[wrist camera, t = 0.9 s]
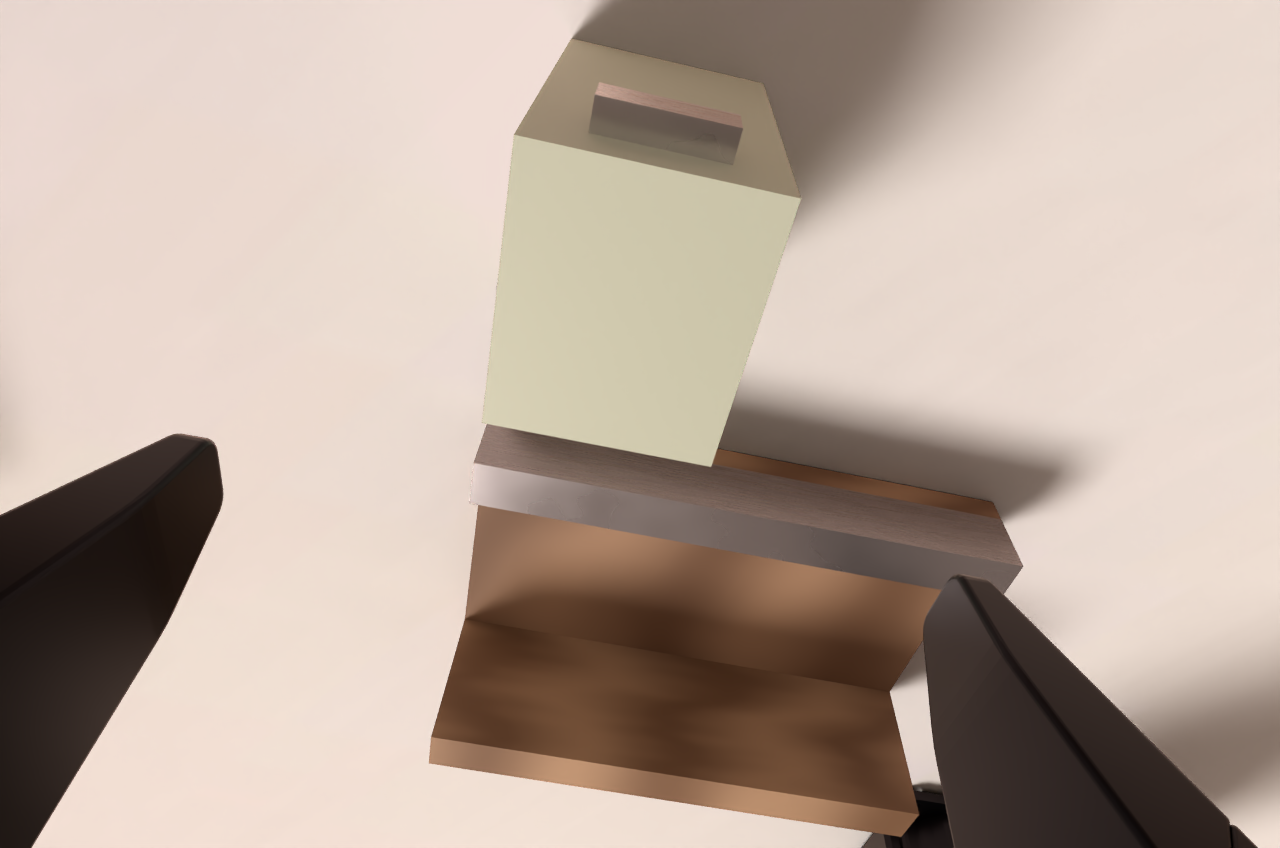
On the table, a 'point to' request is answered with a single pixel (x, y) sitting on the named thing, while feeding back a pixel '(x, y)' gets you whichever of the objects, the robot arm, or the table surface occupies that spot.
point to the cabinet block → (636, 253)
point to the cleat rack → (701, 626)
